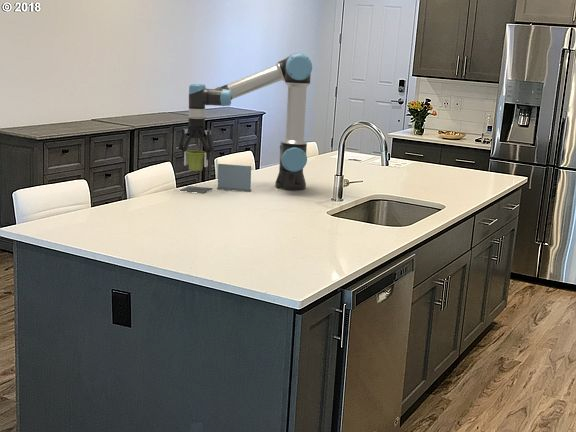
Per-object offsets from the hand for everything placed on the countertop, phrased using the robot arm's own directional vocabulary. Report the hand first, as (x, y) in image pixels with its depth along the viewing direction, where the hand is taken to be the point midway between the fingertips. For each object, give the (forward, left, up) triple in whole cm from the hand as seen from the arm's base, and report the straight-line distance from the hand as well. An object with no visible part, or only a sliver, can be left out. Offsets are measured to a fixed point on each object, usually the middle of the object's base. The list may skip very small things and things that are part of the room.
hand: (196, 165), depth 360 cm
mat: (0, 0, -12) cm, 12 cm away
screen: (-16, -9, -12) cm, 22 cm away
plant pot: (0, 0, -2) cm, 2 cm away
